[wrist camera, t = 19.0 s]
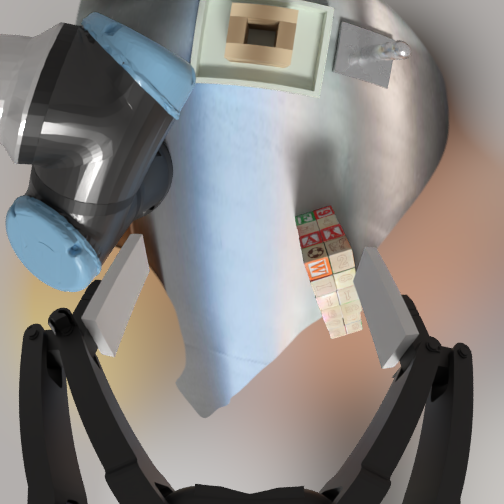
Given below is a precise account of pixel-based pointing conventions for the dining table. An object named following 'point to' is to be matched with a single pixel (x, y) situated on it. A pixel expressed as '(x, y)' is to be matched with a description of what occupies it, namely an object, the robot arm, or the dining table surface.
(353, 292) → the stack of blocks
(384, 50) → the post
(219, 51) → the tray
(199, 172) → the dining table surface
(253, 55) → the oak block
